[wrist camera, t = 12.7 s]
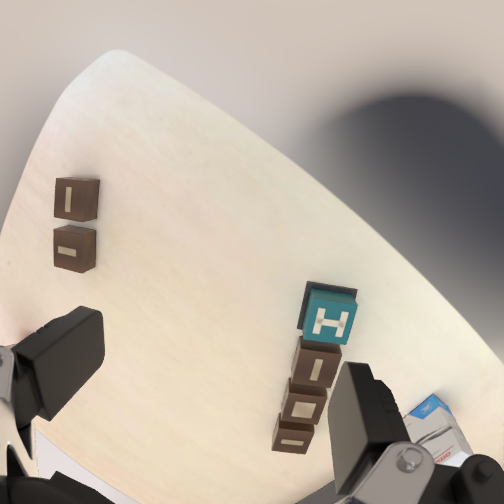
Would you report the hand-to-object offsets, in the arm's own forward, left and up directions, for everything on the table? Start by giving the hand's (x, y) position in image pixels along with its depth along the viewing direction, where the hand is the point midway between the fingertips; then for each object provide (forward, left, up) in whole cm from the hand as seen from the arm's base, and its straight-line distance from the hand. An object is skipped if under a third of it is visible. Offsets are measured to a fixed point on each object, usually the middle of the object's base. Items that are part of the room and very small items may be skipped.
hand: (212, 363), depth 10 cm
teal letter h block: (+7, +8, -24) cm, 26 cm away
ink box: (+22, +26, -24) cm, 42 cm away
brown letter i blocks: (+2, -22, -24) cm, 33 cm away
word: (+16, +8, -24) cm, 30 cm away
